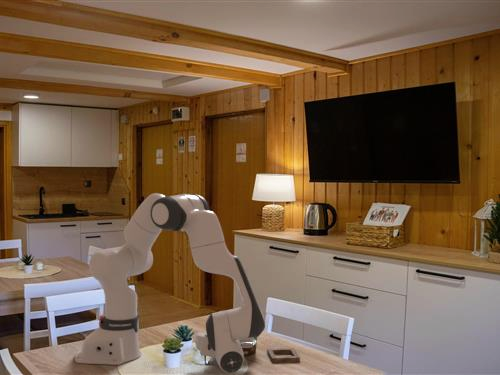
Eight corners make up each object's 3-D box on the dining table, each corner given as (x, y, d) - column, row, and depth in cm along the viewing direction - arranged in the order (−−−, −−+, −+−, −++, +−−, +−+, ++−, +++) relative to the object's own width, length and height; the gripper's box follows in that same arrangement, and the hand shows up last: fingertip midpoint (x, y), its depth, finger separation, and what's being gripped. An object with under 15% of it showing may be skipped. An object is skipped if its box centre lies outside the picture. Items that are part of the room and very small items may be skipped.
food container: (255, 358, 182) (256, 331, 182) (238, 357, 183) (239, 329, 183) (261, 347, 194) (262, 321, 194) (245, 346, 195) (246, 320, 195)
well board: (272, 362, 179) (272, 358, 179) (267, 352, 189) (267, 348, 188) (299, 361, 180) (300, 357, 180) (293, 352, 190) (293, 348, 190)
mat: (206, 364, 175) (206, 361, 175) (204, 354, 185) (204, 351, 185) (241, 363, 177) (241, 360, 177) (237, 353, 187) (237, 350, 187)
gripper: (258, 335, 170) (252, 323, 183) (196, 336, 167) (194, 324, 180) (257, 353, 170) (251, 340, 183) (195, 355, 167) (194, 342, 180)
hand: (223, 332), depth 182 cm, fingers closed on sage block, 5 cm apart
